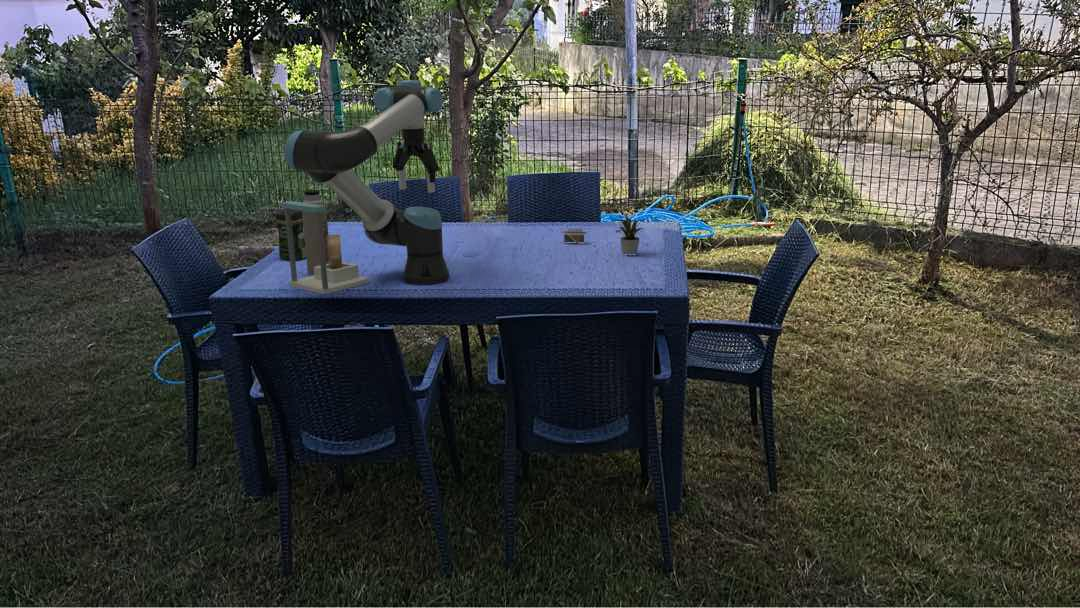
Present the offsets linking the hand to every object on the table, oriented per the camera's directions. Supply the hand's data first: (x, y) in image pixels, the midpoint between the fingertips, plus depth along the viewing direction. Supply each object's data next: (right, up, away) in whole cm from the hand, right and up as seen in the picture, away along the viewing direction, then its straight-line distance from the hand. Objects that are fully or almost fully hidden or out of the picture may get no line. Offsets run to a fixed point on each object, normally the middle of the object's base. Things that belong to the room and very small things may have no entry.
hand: (417, 190), depth 267 cm
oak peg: (-24, -31, -14) cm, 41 cm away
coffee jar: (-49, -22, +21) cm, 58 cm away
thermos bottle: (-33, -28, 0) cm, 44 cm away
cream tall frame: (-26, -33, -16) cm, 45 cm away
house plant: (+74, -21, +20) cm, 80 cm away
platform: (+56, -16, +40) cm, 71 cm away
